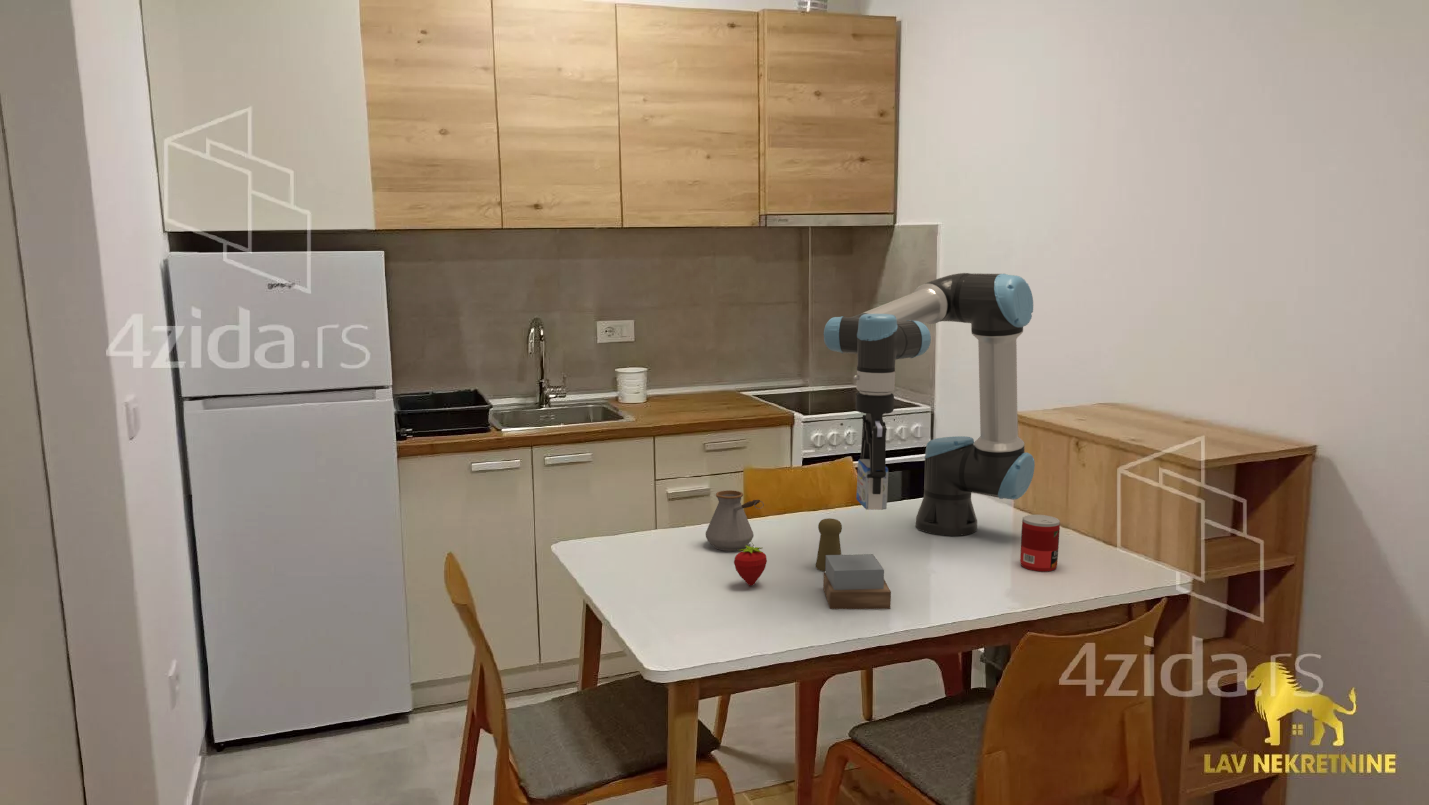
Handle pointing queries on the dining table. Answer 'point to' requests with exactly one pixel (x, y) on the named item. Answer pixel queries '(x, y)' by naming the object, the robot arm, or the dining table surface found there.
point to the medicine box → (864, 484)
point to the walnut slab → (857, 597)
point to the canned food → (1039, 542)
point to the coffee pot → (730, 522)
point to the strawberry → (750, 564)
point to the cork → (828, 541)
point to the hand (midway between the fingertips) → (871, 503)
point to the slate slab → (854, 572)
